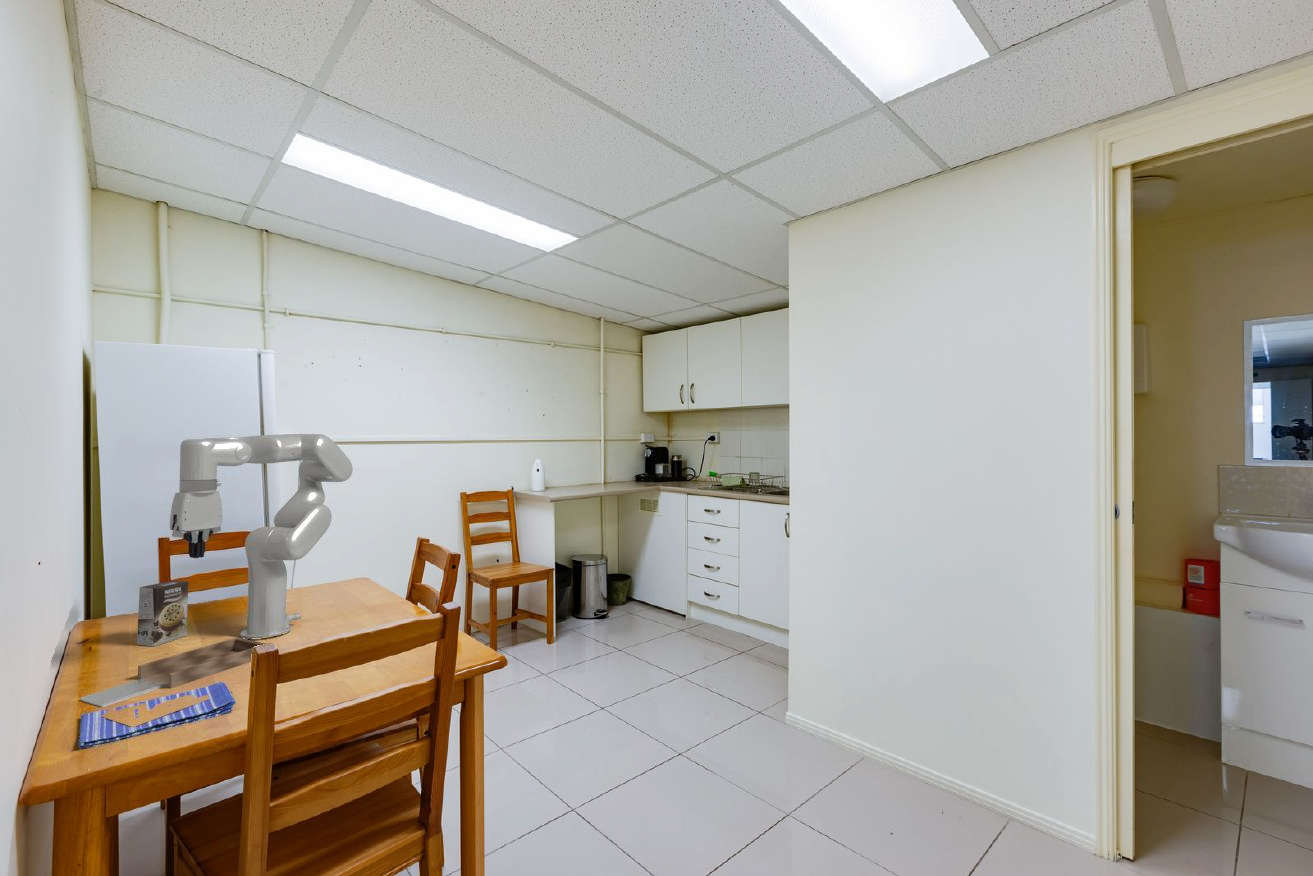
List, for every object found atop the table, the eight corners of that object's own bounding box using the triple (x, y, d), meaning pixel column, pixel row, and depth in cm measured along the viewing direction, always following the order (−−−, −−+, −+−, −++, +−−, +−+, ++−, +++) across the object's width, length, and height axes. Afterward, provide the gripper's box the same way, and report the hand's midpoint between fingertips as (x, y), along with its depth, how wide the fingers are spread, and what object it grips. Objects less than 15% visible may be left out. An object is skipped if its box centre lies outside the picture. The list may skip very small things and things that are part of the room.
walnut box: (236, 651, 154) (237, 637, 154) (268, 658, 149) (269, 644, 149) (137, 682, 133) (138, 665, 133) (171, 691, 128) (171, 674, 128)
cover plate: (142, 686, 132) (142, 678, 132) (163, 692, 129) (163, 683, 129) (80, 706, 122) (80, 697, 122) (102, 713, 119) (102, 704, 119)
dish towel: (237, 714, 120) (237, 700, 120) (76, 755, 103) (77, 739, 103) (225, 688, 132) (225, 676, 132) (80, 721, 115) (80, 707, 115)
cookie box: (154, 647, 156) (156, 588, 156) (135, 645, 157) (137, 586, 157) (187, 636, 165) (189, 580, 165) (170, 634, 166) (171, 579, 166)
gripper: (220, 484, 155) (218, 551, 155) (155, 488, 141) (153, 561, 141) (238, 485, 152) (236, 553, 152) (173, 489, 138) (172, 564, 138)
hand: (196, 557), depth 147 cm, fingers closed
